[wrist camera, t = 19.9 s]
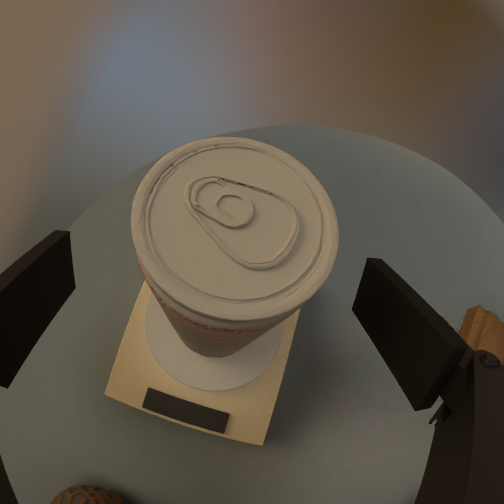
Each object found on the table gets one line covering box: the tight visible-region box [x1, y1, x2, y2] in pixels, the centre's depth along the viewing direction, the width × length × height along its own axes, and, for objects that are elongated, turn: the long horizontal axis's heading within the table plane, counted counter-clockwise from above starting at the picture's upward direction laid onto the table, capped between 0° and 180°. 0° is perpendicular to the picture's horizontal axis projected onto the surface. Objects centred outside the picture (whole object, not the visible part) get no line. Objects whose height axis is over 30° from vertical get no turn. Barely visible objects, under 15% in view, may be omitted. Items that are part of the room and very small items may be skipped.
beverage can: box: [131, 137, 339, 358], centre depth 14 cm, size 6×6×15 cm
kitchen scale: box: [105, 280, 300, 446], centre depth 22 cm, size 12×14×3 cm
